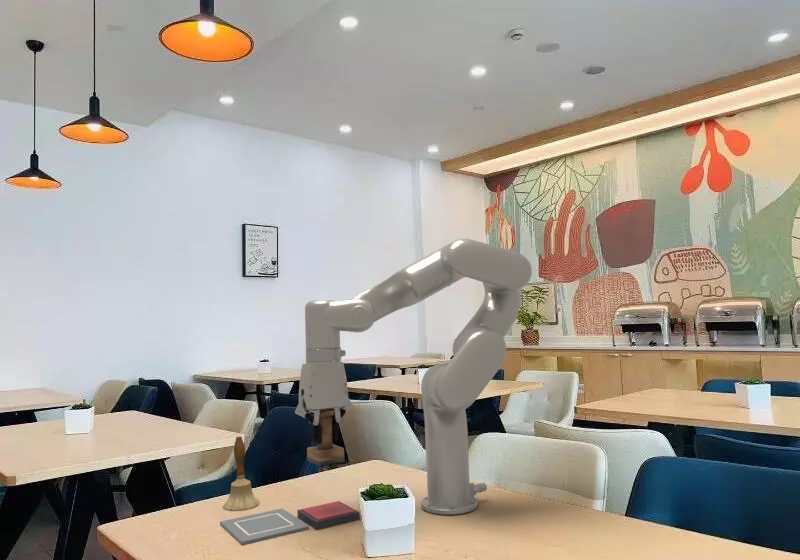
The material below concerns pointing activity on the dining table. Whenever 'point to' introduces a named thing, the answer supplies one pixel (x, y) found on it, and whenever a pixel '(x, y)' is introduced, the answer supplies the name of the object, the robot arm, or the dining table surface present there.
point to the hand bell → (240, 484)
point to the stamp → (325, 443)
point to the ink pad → (328, 515)
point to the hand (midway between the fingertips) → (325, 441)
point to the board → (263, 526)
